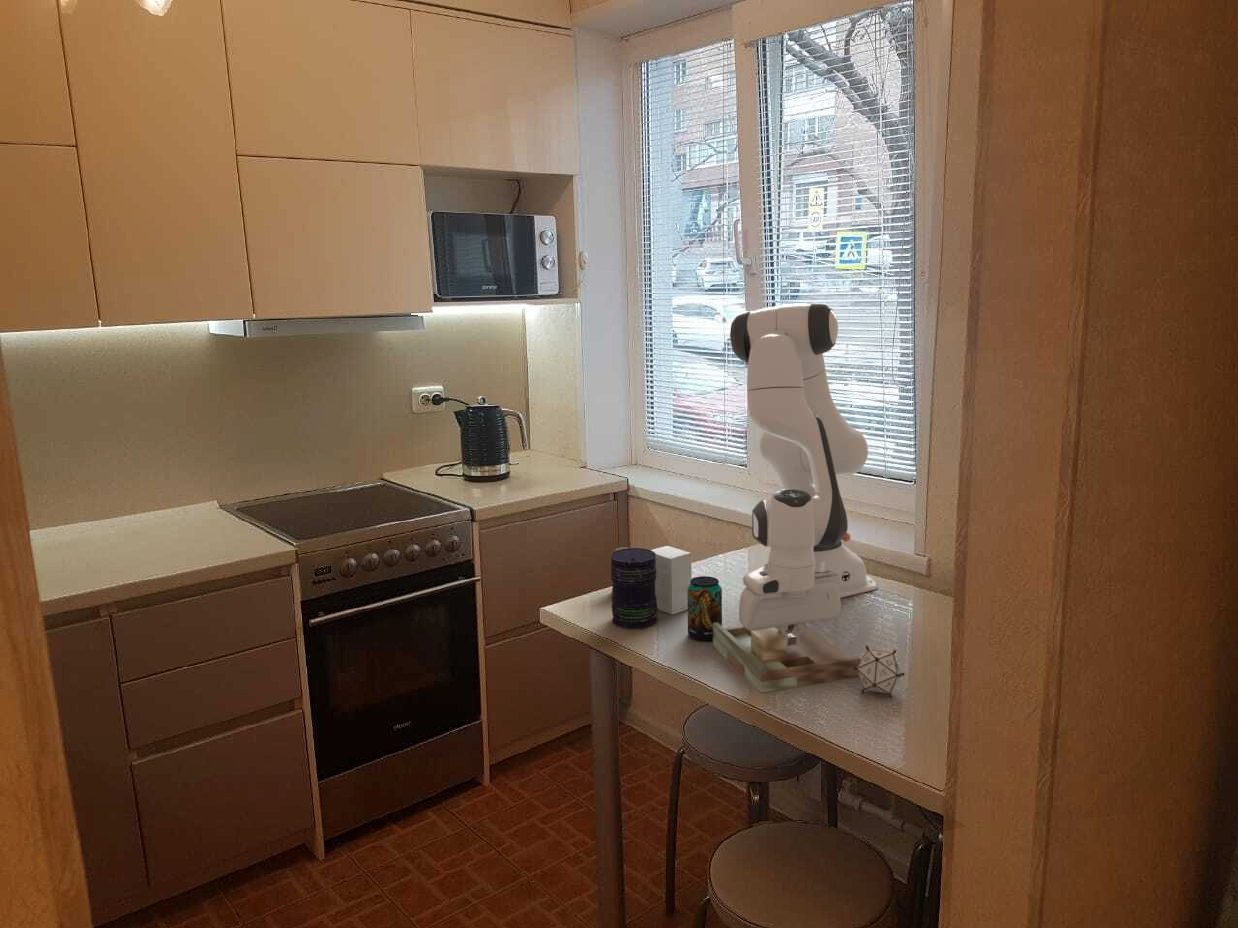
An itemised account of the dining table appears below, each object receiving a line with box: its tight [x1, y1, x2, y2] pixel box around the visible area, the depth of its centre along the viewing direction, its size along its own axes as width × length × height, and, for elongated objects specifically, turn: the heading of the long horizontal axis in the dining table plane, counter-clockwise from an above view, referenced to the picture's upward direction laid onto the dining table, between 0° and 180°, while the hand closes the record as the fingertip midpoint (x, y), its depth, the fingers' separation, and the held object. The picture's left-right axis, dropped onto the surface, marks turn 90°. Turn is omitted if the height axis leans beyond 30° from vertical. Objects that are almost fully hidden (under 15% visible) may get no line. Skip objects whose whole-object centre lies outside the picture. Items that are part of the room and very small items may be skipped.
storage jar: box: [610, 547, 658, 630], centre depth 197 cm, size 10×10×15 cm
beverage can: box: [687, 575, 723, 642], centre depth 189 cm, size 7×7×12 cm
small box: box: [650, 545, 693, 616], centre depth 205 cm, size 8×6×13 cm
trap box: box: [712, 622, 862, 694], centre depth 177 cm, size 20×22×5 cm
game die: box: [852, 644, 906, 699], centre depth 162 cm, size 9×8×10 cm
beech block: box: [751, 627, 787, 661], centre depth 175 cm, size 5×5×4 cm
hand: (790, 644), depth 177 cm, fingers closed
